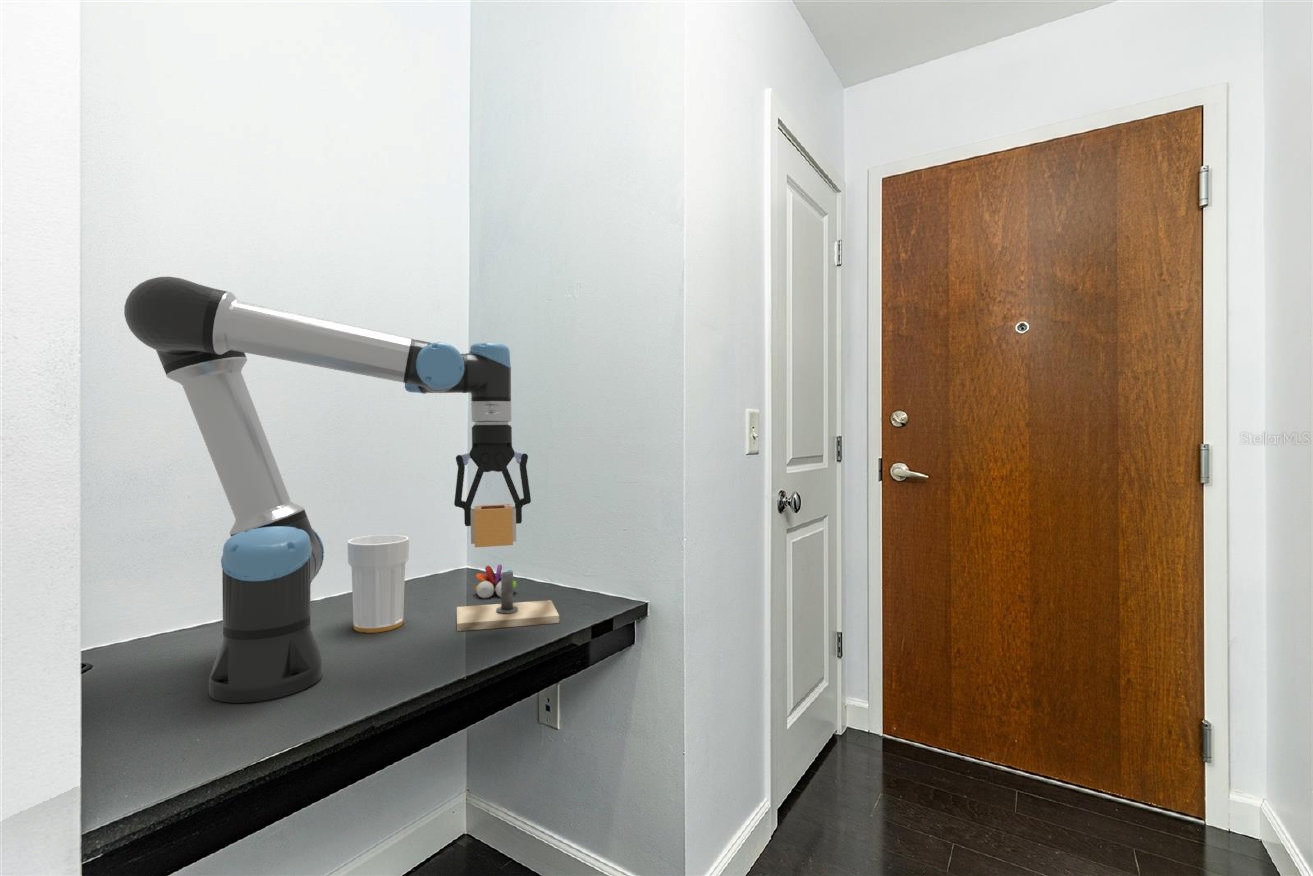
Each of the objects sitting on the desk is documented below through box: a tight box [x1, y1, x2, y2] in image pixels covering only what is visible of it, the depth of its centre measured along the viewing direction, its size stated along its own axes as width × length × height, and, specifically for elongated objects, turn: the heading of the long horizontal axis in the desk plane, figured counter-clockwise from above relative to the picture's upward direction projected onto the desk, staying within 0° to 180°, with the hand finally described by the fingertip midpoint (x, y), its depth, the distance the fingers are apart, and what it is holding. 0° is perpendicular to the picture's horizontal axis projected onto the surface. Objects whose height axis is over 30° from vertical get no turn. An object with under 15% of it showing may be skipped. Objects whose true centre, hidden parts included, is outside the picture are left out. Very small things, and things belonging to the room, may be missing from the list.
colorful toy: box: [474, 564, 517, 599], centre depth 152 cm, size 8×10×7 cm
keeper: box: [456, 571, 560, 632], centre depth 133 cm, size 20×12×10 cm, turn 107°
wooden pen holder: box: [473, 503, 514, 548], centre depth 124 cm, size 7×7×7 cm
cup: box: [347, 534, 410, 634], centre depth 128 cm, size 11×11×17 cm
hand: (493, 541), depth 124 cm, fingers closed on wooden pen holder, 7 cm apart
